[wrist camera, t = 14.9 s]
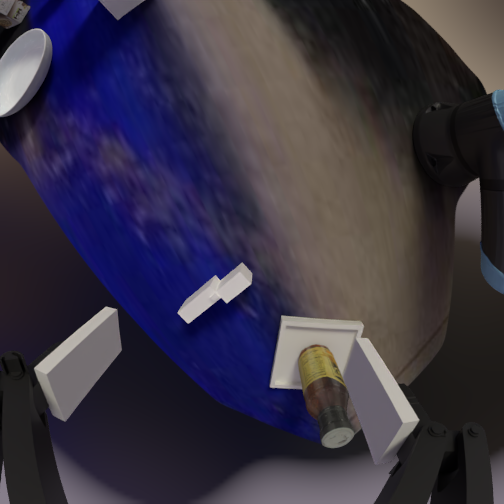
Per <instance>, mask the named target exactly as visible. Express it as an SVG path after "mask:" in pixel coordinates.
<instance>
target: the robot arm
mask: <svg viewBox="0 0 504 504" xmlns="http://www.w3.org/2000/svg"><path fill="white" fill-rule="evenodd" d="M413 141H414V147H415V151H416V154H417V157H418V159H419V161H420V163H421V165H422V167H423V168H424V170H425V171H426V173H427V174H428V175H429V176H430V177H431V178H432V179H433V180H434V181H436V182H437V183H439V184H441V185H444V186H448V187H460V186H464V185H466V184H468V183H470V182H472V181H474V180H475V179H477V178H479V179H480V192H481V222H482V223H481V224H482V225H481V242H480V250H481V271H482V274H483V275H484V278H485V280H486V281H487V282H488V283H489V284H490V285H491V286H492V287H493V288H494V289H496V290H497V291H499V292H500V293H502V294H504V90H496V91H494V92H493V93H490V94H487V95H485V96H482V97H479V98H476V99H473V100H471V101H468V102H465V103H463V104H453V103H446V102H437V103H433V104H431V105H429V106H426V107H425V108H423V109H422V110H421V111H420V112H419V113H418V115H417V117H416V119H415V122H414V127H413ZM121 350H122V349H121V341H120V333H119V325H118V314H117V309H113V308H109V307H105V308H104V309H103V310H101V311H100V312H99V313H98V314H96V316H94V317H93V318H92V319H90V320H89V321H88V322H87V323H86V324H84V325H83V326H82V327H81V328H80V329H78V330H77V331H76V332H75V333H74V334H73V335H71V336H70V337H69V338H68V339H67V340H65V341H64V342H63V341H60V342H58V343H55V344H53V345H52V346H51V347H49V348H48V349H47V351H45V352H44V353H43V354H42V355H40V356H39V357H38V358H37V359H35V360H34V361H33V362H32V363H31V364H30V365H28V366H27V365H26V362H25V359H24V356H23V354H22V353H20V352H18V351H9V352H6V353H4V354H3V355H2V356H1V357H0V364H1V367H2V370H3V371H0V481H1V473H2V464H3V459H4V468H5V477H6V484H7V490H8V496H9V501H10V504H68V502H67V499H66V496H65V493H64V490H63V487H62V483H61V480H60V476H59V473H58V469H57V465H56V461H55V456H54V452H53V447H52V442H51V437H50V431H49V425H48V419H47V414H46V412H45V410H46V409H47V408H48V407H49V408H50V410H51V412H52V414H53V416H55V417H57V418H59V419H61V420H63V421H66V420H67V419H68V418H69V416H70V415H71V414H72V412H73V411H74V410H75V408H76V407H77V406H78V404H79V403H80V402H81V401H82V399H83V398H84V397H85V395H86V394H87V393H88V392H89V390H90V389H91V388H92V387H93V385H94V384H95V382H96V381H97V380H98V379H99V378H100V376H101V375H102V374H103V373H104V371H105V370H106V369H107V368H108V366H109V365H110V364H111V363H112V361H113V360H114V359H115V358H116V357H117V355H118V354H119V353H120V352H121ZM343 379H344V382H345V384H346V387H347V389H348V392H349V395H350V397H351V400H352V402H353V405H354V408H355V410H356V413H357V416H358V418H359V421H360V424H361V426H362V429H363V432H364V435H365V437H366V440H367V443H368V446H369V448H370V451H371V454H372V457H373V460H374V463H375V465H377V464H383V463H389V462H391V461H392V459H393V458H394V457H395V456H396V454H397V456H398V458H399V461H398V462H397V464H396V465H395V466H394V467H393V469H392V470H391V471H390V473H389V474H391V475H390V477H389V479H388V481H387V482H386V484H385V486H384V488H383V489H382V491H381V493H380V495H379V496H378V498H377V499H376V501H375V503H374V504H427V502H428V500H429V497H430V495H431V502H430V504H494V502H493V484H492V474H491V465H490V458H489V452H488V445H487V440H486V435H485V431H484V429H483V428H482V427H481V426H480V425H479V424H477V423H474V422H469V423H467V424H465V425H464V427H463V428H462V429H461V431H448V430H447V428H446V427H445V426H444V425H443V424H441V423H439V422H434V421H432V422H431V420H430V418H429V417H428V415H427V414H426V412H425V410H424V409H423V407H422V406H421V404H420V403H419V401H418V400H417V398H415V395H414V393H413V392H412V390H411V389H410V388H409V387H407V386H406V385H405V384H397V383H396V381H395V379H394V378H393V376H392V375H391V373H390V371H389V370H388V368H387V367H386V365H385V364H384V362H383V360H382V359H381V357H380V356H379V354H378V353H377V351H376V350H375V348H374V347H373V345H372V344H371V342H370V341H369V339H368V338H355V342H354V345H353V348H352V352H351V355H350V358H349V361H348V364H347V367H346V370H345V373H344V376H343ZM431 492H432V493H431Z"/></svg>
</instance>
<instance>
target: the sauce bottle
mask: <svg viewBox="0 0 504 504" xmlns="http://www.w3.org/2000/svg"><path fill="white" fill-rule="evenodd" d="M298 367H299V373H300V379H301V384H302V389H303V395H304V400H305V402H306V408H307V411H308V412H309V414H310V415H311V416H312V417H313V418H315V419H316V420H318V424H319V426H320V439H321V443H322V445H323V446H325V447H328V448H337V447H341V446H343V445H345V444H347V443H348V442H349V441H350V440H351V439H352V438H353V436H354V430H353V427H352V424H351V423H350V422H349V420H348V417H347V412H346V411H347V404H348V398H349V392H348V390H347V387H346V385H345V382H344V380H343V377H342V375H341V373H340V370H339V368H338V365H337V363H336V361H335V358H334V356H333V354H332V352H331V351H330V350H329V349H328V348H327V347H326V346H323V345H317V344H315V345H311V346H308V347H307V348H305V349H304V350H302V351H301V353H300V355H299V359H298Z"/></svg>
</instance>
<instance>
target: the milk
mask: <svg viewBox="0 0 504 504" xmlns="http://www.w3.org/2000/svg"><path fill="white" fill-rule="evenodd" d="M99 1H100V2H101V3H102V4H103V5H104V6H105V7H106V9H107V10H108V11H109V12H110V13H111V14H112V15H113V16H114V17H115V18H116V19H117V20H119V19H120V18H121V17H122V16H124V15H125V14H126V13H128V12H129V11H130V10H132V9H133V8H135V7H136V6H137V5H139V4H140V3H142V2H143V1H145V0H99Z"/></svg>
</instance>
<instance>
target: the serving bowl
mask: <svg viewBox="0 0 504 504" xmlns="http://www.w3.org/2000/svg"><path fill="white" fill-rule="evenodd" d="M51 59H52V43H51V40H50V38H49V36H48V35H47V34H46V33H45V32H44V31H43V30H41V29H32V30H30V31H28V32H26V33H24V34H23V35H21V36H20V37H19V38H18V39H17V40H16V41H15V42H14V43H13V44H12V45H11V46H10V47H9V48H8V50H7V51H6V52H5V54H4V55H3V57H2V58H1V60H0V117H5V116H9V115H12V114H14V113H16V112H17V111H19V110H20V109H22V108H23V107H24V106H25V105H26V104H27V103H28V102H29V101H30V100H31V99H32V98H33V96H34V95H35V94H36V92H37V91H38V90H39V88H40V86H41V85H42V83H43V81H44V79H45V77H46V75H47V72H48V70H49V67H50V64H51Z"/></svg>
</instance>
